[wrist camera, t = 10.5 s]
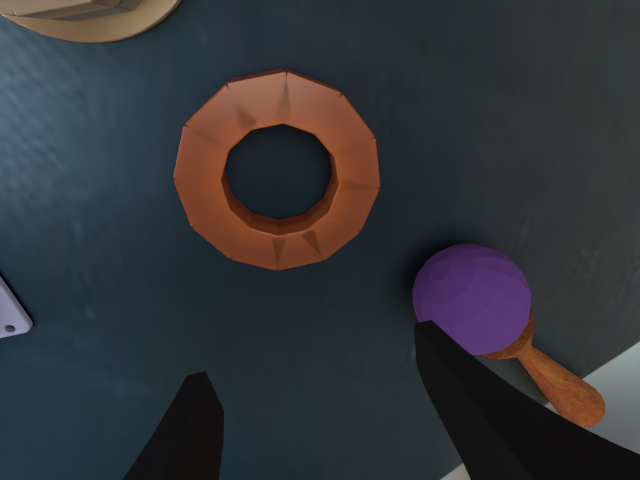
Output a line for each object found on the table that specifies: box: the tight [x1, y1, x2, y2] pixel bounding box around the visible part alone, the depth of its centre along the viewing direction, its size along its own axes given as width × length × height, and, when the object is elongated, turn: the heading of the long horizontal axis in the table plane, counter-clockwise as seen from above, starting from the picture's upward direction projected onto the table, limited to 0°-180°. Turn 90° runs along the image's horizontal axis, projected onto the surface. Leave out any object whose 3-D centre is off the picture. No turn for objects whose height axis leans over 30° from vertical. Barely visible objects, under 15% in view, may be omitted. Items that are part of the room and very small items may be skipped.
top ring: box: [173, 68, 380, 270], centre depth 18 cm, size 9×9×2 cm
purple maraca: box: [412, 243, 605, 428], centre depth 24 cm, size 6×6×20 cm
